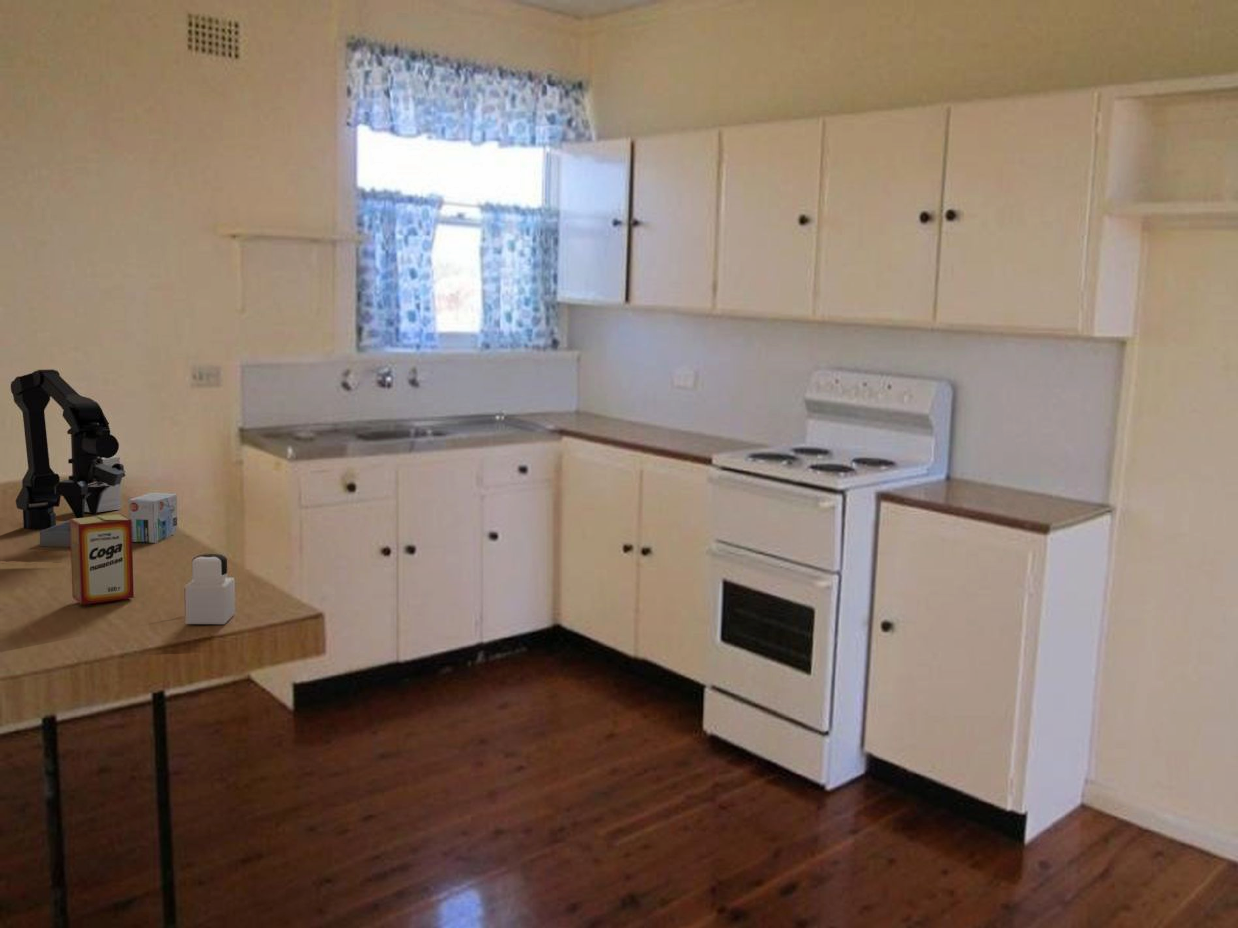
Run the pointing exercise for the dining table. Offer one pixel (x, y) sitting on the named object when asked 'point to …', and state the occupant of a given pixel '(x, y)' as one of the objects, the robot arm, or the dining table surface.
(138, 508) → the light bulb box
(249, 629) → the dining table surface
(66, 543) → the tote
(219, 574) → the medicine bottle
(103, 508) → the supplement box
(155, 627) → the dining table surface
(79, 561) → the baking soda box
